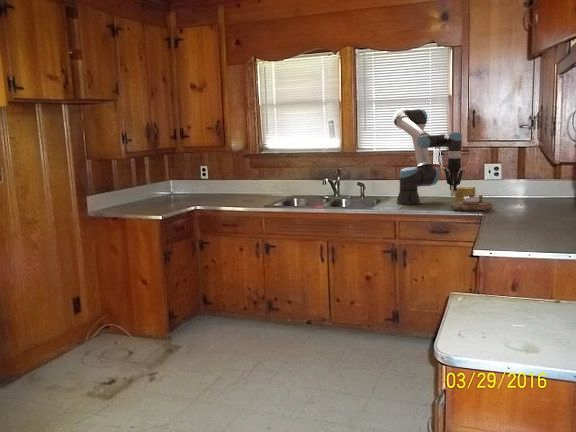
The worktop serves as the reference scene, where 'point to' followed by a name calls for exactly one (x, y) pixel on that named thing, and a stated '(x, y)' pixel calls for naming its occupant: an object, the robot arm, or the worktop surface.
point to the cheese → (463, 193)
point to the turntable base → (471, 210)
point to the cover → (471, 200)
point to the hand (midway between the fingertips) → (452, 195)
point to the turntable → (476, 207)
